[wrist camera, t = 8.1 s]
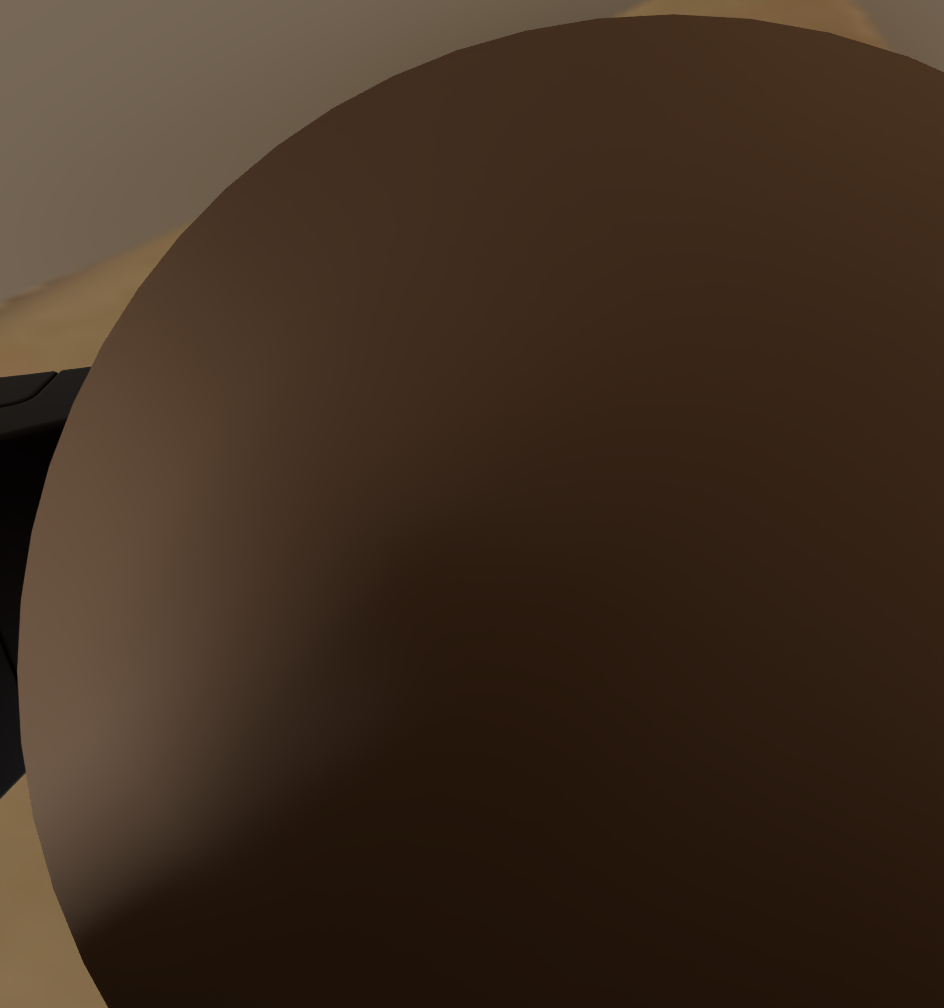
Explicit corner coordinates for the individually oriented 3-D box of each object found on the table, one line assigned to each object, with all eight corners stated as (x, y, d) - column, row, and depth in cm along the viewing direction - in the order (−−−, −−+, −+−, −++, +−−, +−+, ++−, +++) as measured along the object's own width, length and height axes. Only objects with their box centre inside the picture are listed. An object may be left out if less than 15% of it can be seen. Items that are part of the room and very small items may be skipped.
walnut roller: (675, 874, 15) (580, 1757, 3) (459, 651, 17) (-145, 607, 5) (893, 643, 15) (1809, 522, 3) (648, 445, 17) (520, -153, 5)
